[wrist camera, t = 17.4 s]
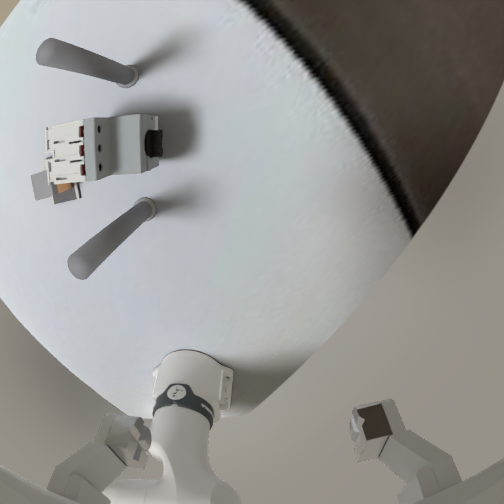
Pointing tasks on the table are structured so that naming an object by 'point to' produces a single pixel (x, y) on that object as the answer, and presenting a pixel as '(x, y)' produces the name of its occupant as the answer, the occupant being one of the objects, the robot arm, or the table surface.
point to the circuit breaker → (102, 148)
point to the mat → (67, 194)
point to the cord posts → (144, 208)
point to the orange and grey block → (46, 186)
